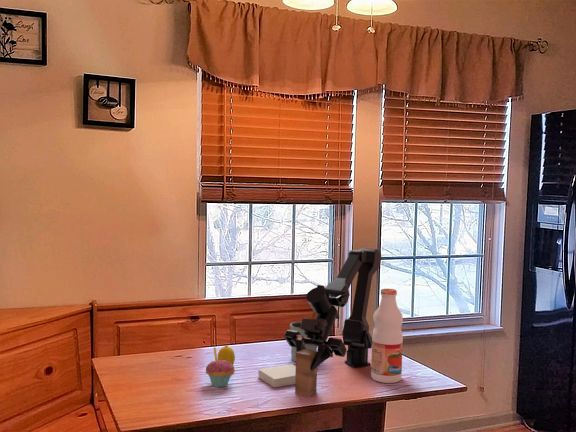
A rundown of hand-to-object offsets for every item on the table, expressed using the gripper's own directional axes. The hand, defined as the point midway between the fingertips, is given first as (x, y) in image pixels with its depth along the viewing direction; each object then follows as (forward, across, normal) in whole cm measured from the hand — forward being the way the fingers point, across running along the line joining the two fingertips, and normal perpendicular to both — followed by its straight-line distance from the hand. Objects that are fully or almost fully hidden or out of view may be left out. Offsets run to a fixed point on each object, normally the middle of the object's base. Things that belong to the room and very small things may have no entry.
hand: (303, 368), depth 167 cm
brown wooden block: (+4, 0, +6) cm, 8 cm away
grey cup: (-15, -17, +26) cm, 35 cm away
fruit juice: (-13, +14, +24) cm, 31 cm away
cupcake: (+11, -25, 0) cm, 27 cm away
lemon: (+3, -31, +8) cm, 33 cm away
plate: (0, -12, +10) cm, 16 cm away
